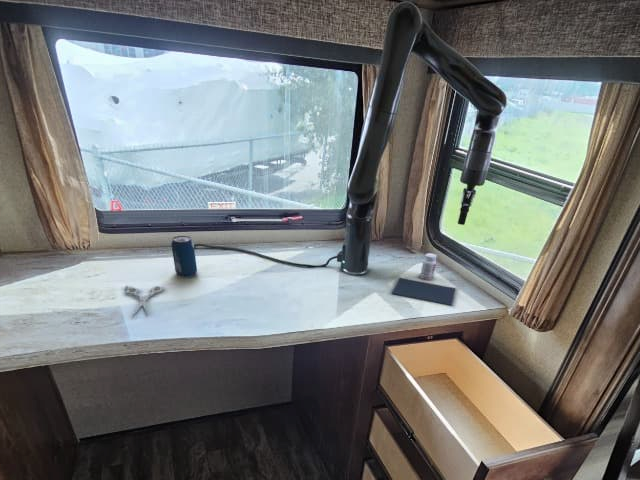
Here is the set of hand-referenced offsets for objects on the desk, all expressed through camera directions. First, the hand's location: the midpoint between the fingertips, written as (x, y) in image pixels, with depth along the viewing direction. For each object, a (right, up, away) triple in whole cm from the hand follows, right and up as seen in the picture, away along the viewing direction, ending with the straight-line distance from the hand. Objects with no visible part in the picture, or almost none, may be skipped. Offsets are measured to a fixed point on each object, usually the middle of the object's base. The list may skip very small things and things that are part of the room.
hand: (461, 220), depth 141 cm
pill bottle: (-8, -15, +17) cm, 24 cm away
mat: (-11, -22, +7) cm, 25 cm away
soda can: (-92, -17, +4) cm, 94 cm away
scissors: (-99, -29, -14) cm, 104 cm away
